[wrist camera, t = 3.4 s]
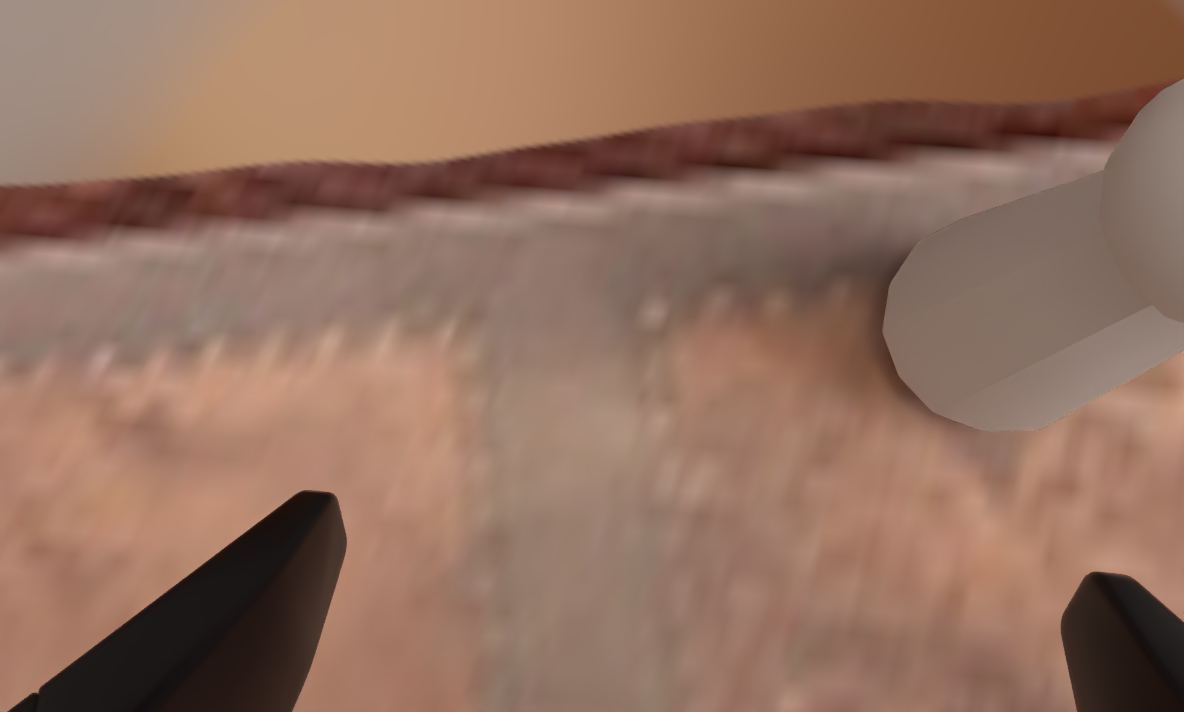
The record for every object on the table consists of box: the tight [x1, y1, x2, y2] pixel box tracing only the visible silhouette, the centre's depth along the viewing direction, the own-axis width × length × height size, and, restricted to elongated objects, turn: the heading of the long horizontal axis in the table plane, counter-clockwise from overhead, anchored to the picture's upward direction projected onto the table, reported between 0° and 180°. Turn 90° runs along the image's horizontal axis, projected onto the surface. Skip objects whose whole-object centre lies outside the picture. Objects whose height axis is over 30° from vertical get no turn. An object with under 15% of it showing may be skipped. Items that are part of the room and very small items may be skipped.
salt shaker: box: [882, 79, 1184, 432], centre depth 17 cm, size 6×6×13 cm
